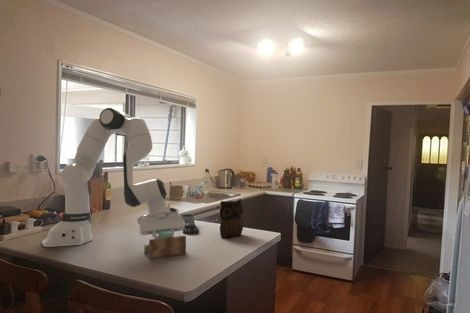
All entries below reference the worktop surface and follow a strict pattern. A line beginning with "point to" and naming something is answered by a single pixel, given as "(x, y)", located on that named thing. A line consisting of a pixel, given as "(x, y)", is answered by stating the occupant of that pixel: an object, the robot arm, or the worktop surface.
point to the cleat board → (165, 247)
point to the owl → (231, 219)
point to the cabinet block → (165, 234)
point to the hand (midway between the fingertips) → (165, 240)
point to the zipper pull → (189, 224)
